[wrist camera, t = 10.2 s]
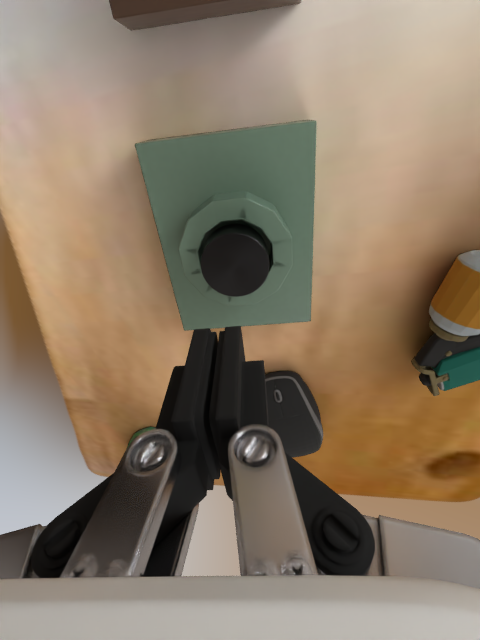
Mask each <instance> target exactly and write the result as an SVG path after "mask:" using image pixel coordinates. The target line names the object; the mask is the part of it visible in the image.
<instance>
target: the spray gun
mask: <svg viewBox="0 0 480 640" xmlns="http://www.w3.org/2000/svg"><path fill="white" fill-rule="evenodd" d="M429 314H430V316H431V320H430V321H429V326H430V328H431V330H433V331H434V332H435V333H434V334H433V335H432V336H430V338H429V339H428V340H427V342H426V343H425V344H424V346H423V347H422V348H421V350H420V351H419V352H418V353H417V355H416V356H414V358H413V359H412V361H411V362H412V364H413V366H414V367H415V368H416V369H417V370H418V371H419V372H421V373H420V375H419V379H420V381H421V382H422V384H423V385H426V386H427V387H428V389H429V390H430V392H431V393H432V394H433V396H437V395H439V390H438V387H439V388H440V389H441V390H443V391H446V390H449V389H452V388H456V387H459V386H462V385H465V384H468V383H471V382H474V381H478V380H480V251H479V250H473V251H469V252H466V253H463V254H460V255H459V256H458V257H457V258H456V260H455V262H454V263H453V265H452V267H451V268H450V270H449V272H448V273H447V275H446V277H445V279H444V280H443V282H442V284H441V285H440V287H439V289H438V290H437V292H436V294H435V296H434V297H433V299H432V301H431V304H430V308H429Z"/></svg>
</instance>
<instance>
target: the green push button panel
mask: <svg viewBox="0 0 480 640" xmlns="http://www.w3.org/2000/svg"><path fill="white" fill-rule="evenodd" d="M135 147H136V151H137V155H138V158H139V162H140V166H141V170H142V174H143V177H144V181H145V185H146V189H147V192H148V196H149V200H150V204H151V207H152V211H153V215H154V219H155V223H156V226H157V230H158V234H159V238H160V241H161V245H162V249H163V253H164V256H165V260H166V264H167V268H168V271H169V275H170V279H171V283H172V287H173V290H174V294H175V298H176V302H177V305H178V309H179V313H180V317H181V320H182V324H183V328H184V330H195V329H206V328H210V329H212V328H225V327H232V326H253V325H267V324H281V323H294V322H308V321H311V294H312V260H313V225H314V191H315V156H316V121H314V120H302V121H294V122H286V123H279V124H271V125H263V126H255V127H247V128H240V129H232V130H224V131H216V132H208V133H201V134H193V135H185V136H177V137H170V138H162V139H154V140H147V141H144V142H140V143H136V144H135ZM228 224H243V225H246V226H249V227H251V228H253V229H254V230H256V231H257V232H258V233H259V234H260V235H261V236H262V237H263V239H264V240H265V242H266V245H267V248H268V255H269V263H270V268H269V273H268V276H267V278H266V280H265V282H264V283H263V285H262V286H261V287H260V288H259V289H257V290H256V291H254V292H253V293H251V294H248V295H245V296H240V297H232V296H226V295H223V294H221V293H219V292H217V291H215V290H214V289H213V288H211V287H210V286H209V285H208V283H207V282H206V280H205V279H204V277H203V274H202V271H201V256H202V253H203V250H204V247H205V244H206V242H207V240H208V238H209V237H210V235H211V234H212V233H213V232H214V231H215V230H217V229H218V228H220V227H222V226H225V225H228Z"/></svg>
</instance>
